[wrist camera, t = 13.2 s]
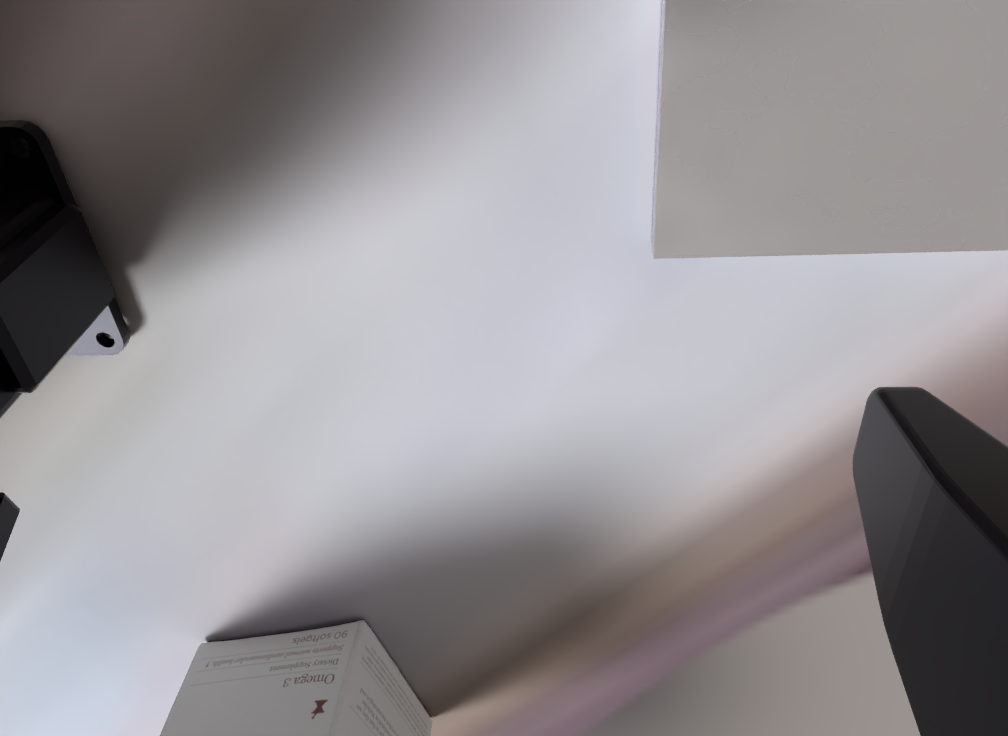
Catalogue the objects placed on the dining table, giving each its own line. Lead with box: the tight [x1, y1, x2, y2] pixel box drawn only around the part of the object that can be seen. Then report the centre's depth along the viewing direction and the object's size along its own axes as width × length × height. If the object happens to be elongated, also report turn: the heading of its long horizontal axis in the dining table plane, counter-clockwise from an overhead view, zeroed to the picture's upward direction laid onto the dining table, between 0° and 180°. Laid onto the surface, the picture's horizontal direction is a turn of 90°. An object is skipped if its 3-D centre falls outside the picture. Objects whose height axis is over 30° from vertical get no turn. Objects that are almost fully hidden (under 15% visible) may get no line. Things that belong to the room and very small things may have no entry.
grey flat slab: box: [651, 0, 1008, 259], centre depth 17 cm, size 9×7×1 cm
